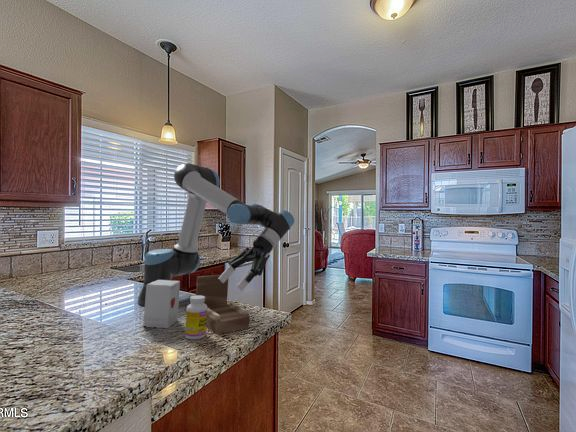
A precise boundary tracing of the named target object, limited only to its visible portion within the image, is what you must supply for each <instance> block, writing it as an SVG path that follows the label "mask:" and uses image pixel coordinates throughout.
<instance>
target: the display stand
mask: <svg viewBox="0 0 576 432" xmlns="http://www.w3.org/2000/svg"><path fill="white" fill-rule="evenodd" d="M221 275H222V274H214V275H213V274H212V275H201V276H200V275H199V276H198V275H197V276H196V284H195V285H196V288H195V296H196V295H201V296H205V301H204V304H206V305H207V322H206V328H208V329H209V330H210V331H211V332H212V333H215V334H216V335H219V334H223V333H227V332H232V331H233V332H234V331H237V330H241V329H247V328H250V320H251V318H250V315H249V310H248V309H247V308H246V309H245V308H244V307H242V306H241V305H238V304H236V303H235V302H229V304H228V293H229V291H228V290H229V278H228V279H227V280H226V281H225V282H224V283H222V282H221V281H220V280H219V279H218V278H219V277H220V276H221Z"/></svg>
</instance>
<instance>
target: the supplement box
mask: <svg viewBox="0 0 576 432" xmlns="http://www.w3.org/2000/svg"><path fill="white" fill-rule="evenodd" d="M180 286H181V281H180V280H172V281H170V280H157V281H154V282H151V283H149V284H147V285H146V297H145V306H144V312H143V326H146V327H145V328H154V327H156V328H155V329H169V328H170V327H172V325H174V324H176V322H177V321H178V318H179V317H178V316H179V305H180V304H179V303H180V291H181V290H180V288H181V287H180ZM143 326H142V327H143Z"/></svg>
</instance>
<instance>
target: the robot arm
mask: <svg viewBox="0 0 576 432" xmlns="http://www.w3.org/2000/svg"><path fill="white" fill-rule="evenodd" d="M173 179H174V181H175V184H176V185H177V186H178V187H179V188H180V189H182V190H184V191H185V192H186V193H187V195H188V199H187V202H186V203H187V204H186V209H185V213H184V217H183V222H182V225H181V229H180V233H179V238H178V242H177V243H176V244H174V245H173V248H172V249H171V248H160V249H159V248H158V249H153V250H149V251H148V252H147V253H145V257H144V258H145V259H144V263H143V264H144V267H143V268H144V269H143V270H144V271H143V283H142V287H141V289H140V292H139V294H138V296H137V297H138V298H137V304H138V305H140V306H142V307H143V306H144V307H145V297H146V285H147V284H149V283H151V282H154V281H157V280H170V281H173V280H172V279H173V277H176V276H182V275H183V276H184V275H188V274H193V273H195V272H196V271H197V270H198V269H199V267H200V266H201V261H202V260H201V255H200V253H199V249H198V247H197V243H198V241H199V235H200V231H201V227H202V224H203V219H204V215H205V212H206V211H205V210H206V207H207V203H208V204H209V205H211V206H212V207H214V208H215V209H217V210H219V211H220V213H221V212H222V213H223V214H224V215H226V216H227V218H228V220H229V222H230V223H232V224H237V225H253V226H254V225H259V226H261V227H263V228H264V229H263V230H262V232H261V233H260V234H259V236H257V237H256V239H255V240H254V241H253V242H252V248H249V247H246V248H245V249H243V250H242V251H241V252H240V253H239V254H237V255H236V256H235V257H233V258H232V259H230V260H228V262H227V264H228V267H227V268H226V269H225V270H224V271H223V272H222V273H221V274H220V275H221V276H220V277H219V278H218V279H219V280H220V281H221V282H222V283H224V282H225V281H226V280H227V279H228V280H229V278H230V277H231V276H232V274H233V273H234V272H235V271H236V268H238V267H240V266H242V265H244V264H246V263H250V262H252V264H251V268H250V269H249V271H247V272H246V274H245V275H244V276H243V277H242V278H241V280H240V281H239V282H238V283H237V284H236V287H237V288H238V289H239V290H240V292H242V291H244V290H245V288H246V287H247V286H248V285H249V284H250V282H251V281H252V280H253V279H254V278H255V277H257V276H259V277H261V276H262V275H263V274H262V273H263V272H264V269H265V267H266V264H267V262H268V260H269V258H270V256H271V255H270V253H271V252H272V251H273V249H274V248H275V247H276V246H277V245H278V243H279V242H280V241H281V240H282V239H283V237H284V236H285V235H286V234H287V233H288V232H289V230H291V228H292V227H293V225H294V224H295V218H294V215H293V214H292V213H291V212H289V211H288V210H285V209H284V210H280V211H279V212H274V211H273V210H271V209H268V208H267V207H264V206H263V205H260V204H258V203H253V204H251V205H248V204H246V203H244V202H243V201H241V200H240V199H238V198H237V197H235V196H233V195H231V194H230V193H228V192H227V191H225V190H223V189H222V188H220V183H221V182H220V177H219V175H218V173H217V172H216V171H215V170H214V169H212V168H209V167H205V166H201V165H196V164H193V163H188V162H187V163H183V164H181V165H179V166H177V168H176V169H175V171H174V175H173Z"/></svg>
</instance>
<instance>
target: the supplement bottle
mask: <svg viewBox="0 0 576 432" xmlns="http://www.w3.org/2000/svg"><path fill="white" fill-rule="evenodd" d="M189 299H190V300H189V302H190V304H188V305H187V306H186V313H185V325H184V326H185V327H184V337H185V338H186V339H188V340H200V339H203V338H205V336H206V334H207V333H206V332H207V327H206V322H207V305H206V304H204V301H205V296H201V295H196V294H195V295H192V296H190V298H189Z"/></svg>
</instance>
